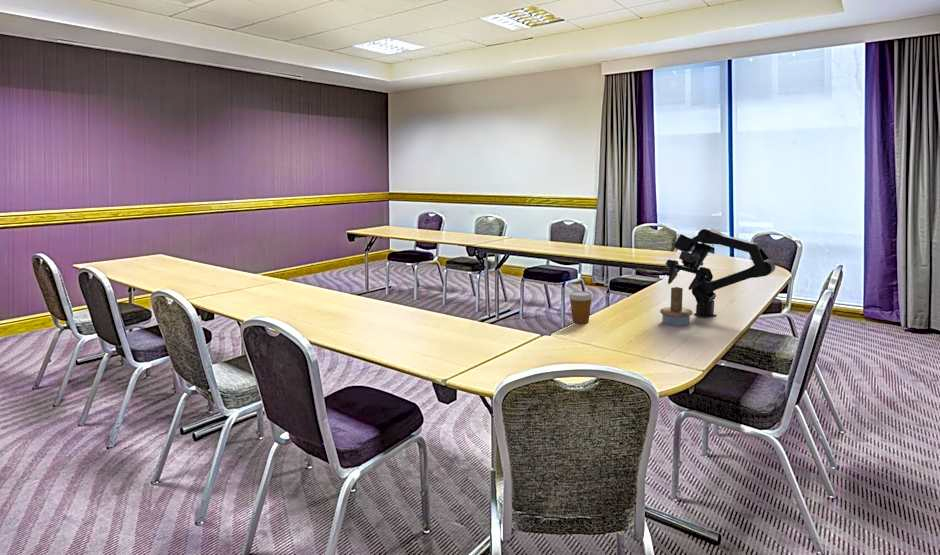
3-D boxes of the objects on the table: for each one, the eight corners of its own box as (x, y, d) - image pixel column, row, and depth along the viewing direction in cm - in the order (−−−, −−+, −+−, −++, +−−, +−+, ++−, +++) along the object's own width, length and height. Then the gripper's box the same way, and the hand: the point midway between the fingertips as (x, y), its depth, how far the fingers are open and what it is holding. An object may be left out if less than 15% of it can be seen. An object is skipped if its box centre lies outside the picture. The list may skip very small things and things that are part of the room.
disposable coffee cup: (592, 325, 237) (592, 295, 235) (568, 324, 239) (568, 295, 237) (592, 319, 247) (592, 291, 244) (569, 319, 248) (569, 290, 246)
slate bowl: (676, 318, 244) (677, 308, 243) (694, 323, 235) (695, 313, 234) (657, 321, 240) (657, 311, 240) (674, 327, 231) (674, 317, 231)
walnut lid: (677, 307, 245) (678, 284, 243) (699, 314, 234) (700, 289, 232) (653, 311, 240) (654, 287, 238) (674, 317, 229) (675, 292, 228)
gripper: (671, 239, 245) (652, 269, 241) (713, 249, 232) (694, 280, 228) (679, 256, 252) (660, 285, 248) (720, 266, 239) (702, 296, 235)
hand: (678, 286), depth 240 cm, fingers open, 9 cm apart
